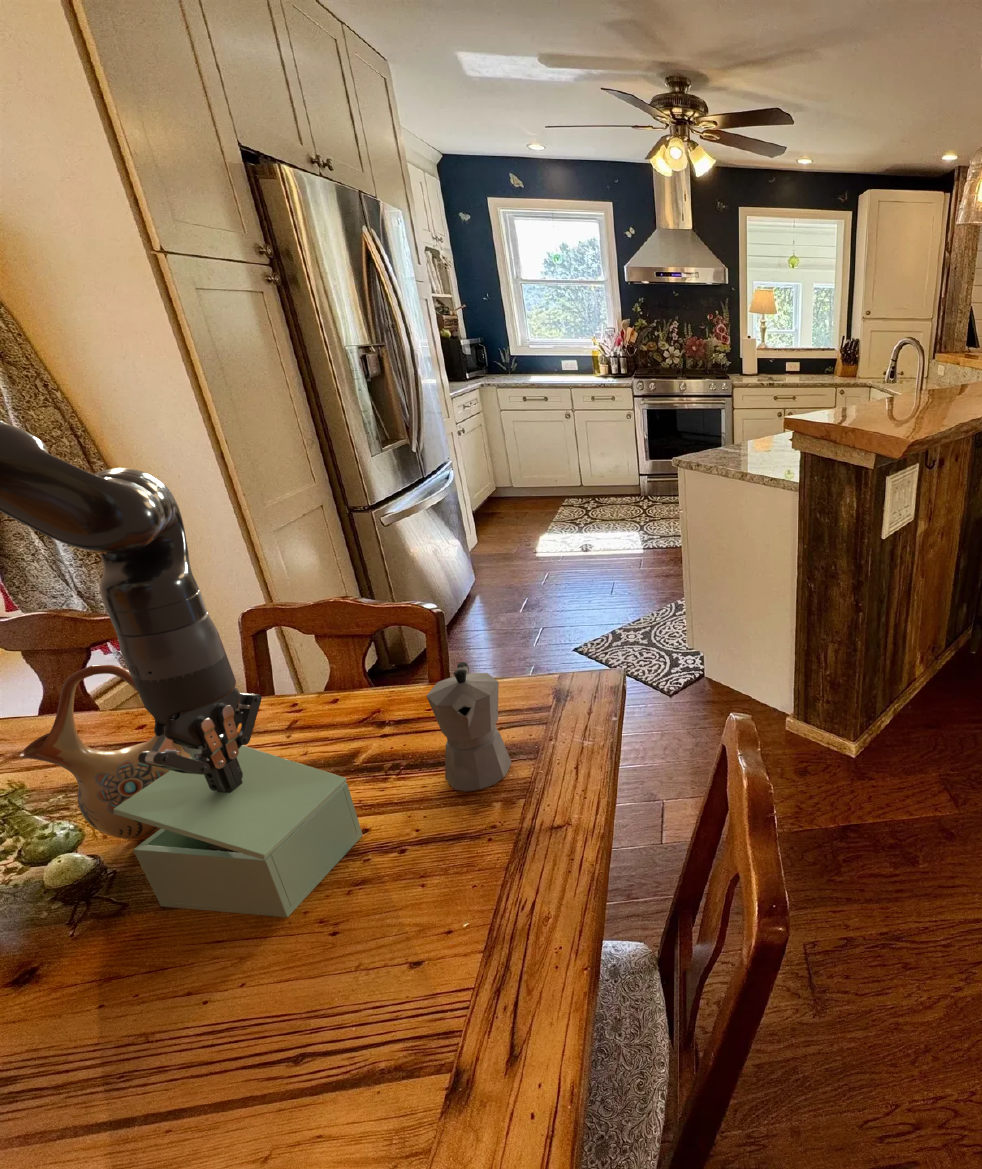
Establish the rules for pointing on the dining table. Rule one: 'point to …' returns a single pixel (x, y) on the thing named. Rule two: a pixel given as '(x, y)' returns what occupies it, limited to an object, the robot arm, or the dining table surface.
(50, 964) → the dining table surface
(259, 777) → the lid
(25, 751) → the ceramic vessel
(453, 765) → the coffeepot
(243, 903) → the box
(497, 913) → the dining table surface
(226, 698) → the robot arm
